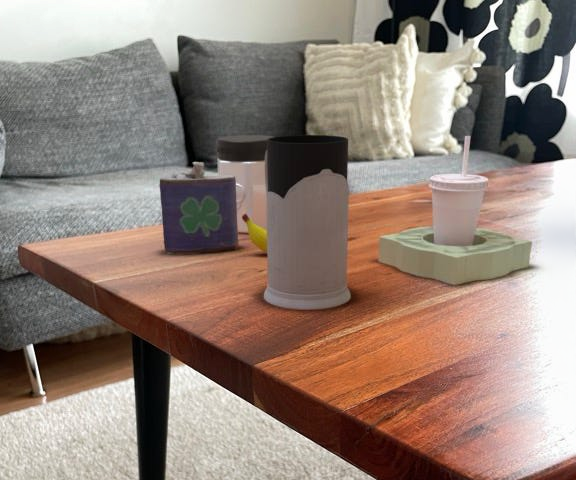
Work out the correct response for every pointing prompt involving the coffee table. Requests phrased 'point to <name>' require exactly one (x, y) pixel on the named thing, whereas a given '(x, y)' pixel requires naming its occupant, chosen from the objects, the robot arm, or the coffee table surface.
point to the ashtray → (454, 255)
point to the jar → (246, 175)
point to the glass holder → (307, 221)
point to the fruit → (256, 234)
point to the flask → (199, 212)
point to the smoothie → (457, 204)
